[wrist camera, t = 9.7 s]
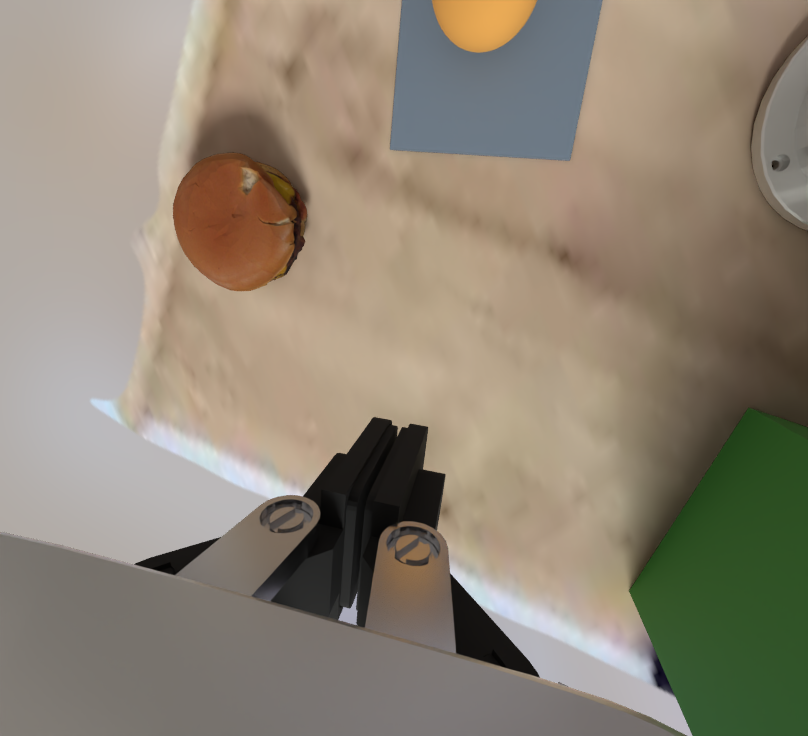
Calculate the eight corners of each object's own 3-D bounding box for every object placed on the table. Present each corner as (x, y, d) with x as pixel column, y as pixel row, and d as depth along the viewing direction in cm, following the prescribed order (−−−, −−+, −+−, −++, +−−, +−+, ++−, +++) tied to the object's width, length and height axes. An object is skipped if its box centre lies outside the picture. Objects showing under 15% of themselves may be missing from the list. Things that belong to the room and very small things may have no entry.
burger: (191, 259, 32) (145, 259, 28) (215, 143, 29) (168, 121, 25) (295, 306, 32) (264, 313, 27) (330, 191, 29) (302, 178, 24)
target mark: (408, -69, 23) (407, -72, 23) (617, -77, 21) (618, -80, 21) (390, 149, 27) (390, 149, 27) (569, 160, 25) (570, 159, 25)
